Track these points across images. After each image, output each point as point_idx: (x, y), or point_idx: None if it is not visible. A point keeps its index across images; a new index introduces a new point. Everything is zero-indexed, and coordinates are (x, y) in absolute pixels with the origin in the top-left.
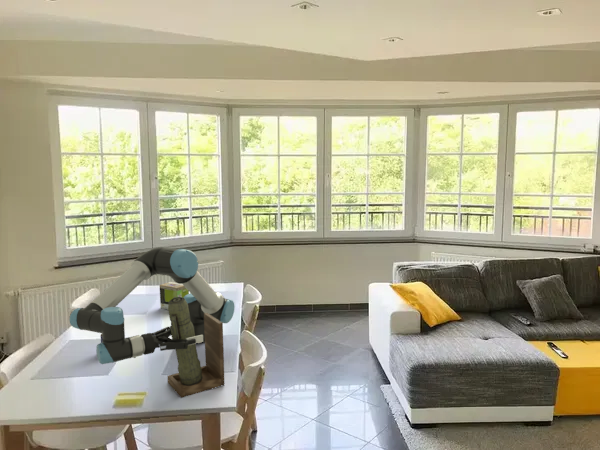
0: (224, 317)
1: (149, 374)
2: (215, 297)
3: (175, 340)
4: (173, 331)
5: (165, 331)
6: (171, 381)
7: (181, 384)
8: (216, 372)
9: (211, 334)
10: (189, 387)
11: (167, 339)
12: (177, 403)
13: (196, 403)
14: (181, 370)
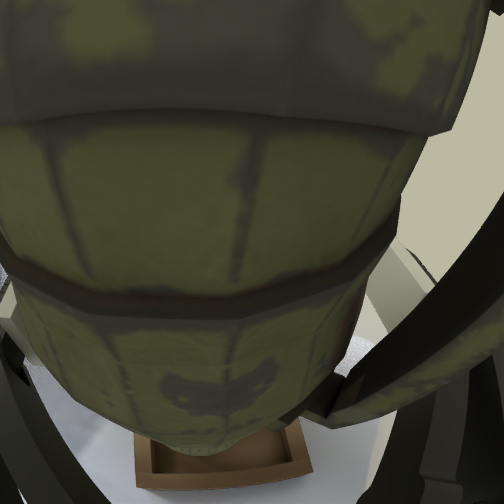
0: None
1: None
2: None
3: (465, 399)
4: (451, 373)
5: (10, 454)
6: (191, 489)
7: (209, 457)
8: None
9: None
10: (298, 438)
11: (454, 501)
12: (339, 488)
13: (359, 430)
14: (229, 446)
